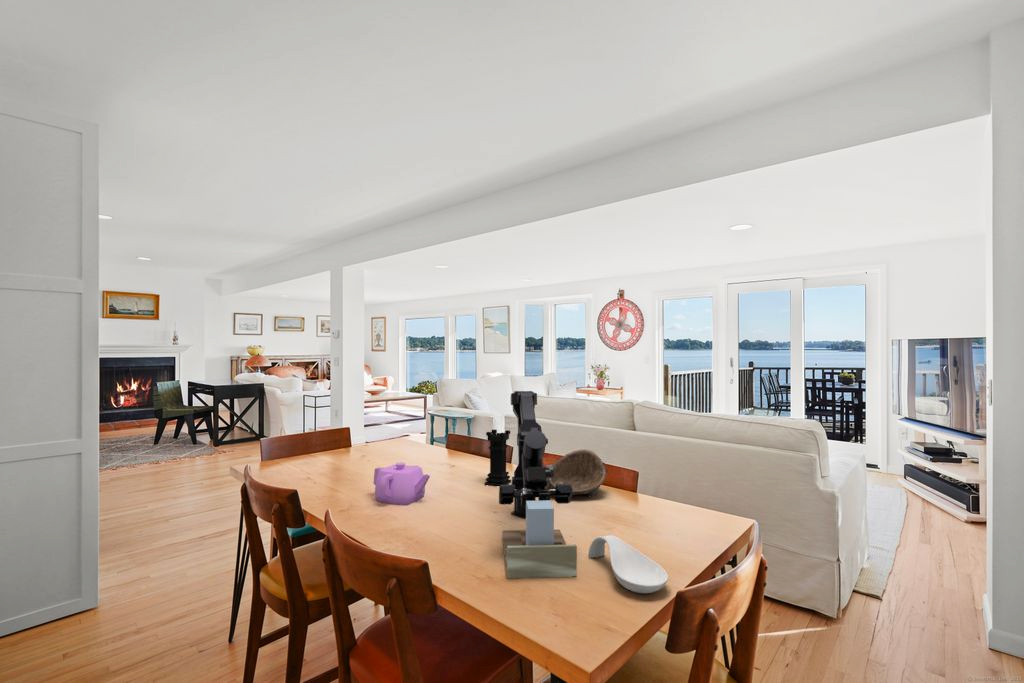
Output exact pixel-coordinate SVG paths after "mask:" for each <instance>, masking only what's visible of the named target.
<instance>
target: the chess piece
mask: <svg viewBox="0 0 1024 683" xmlns="http://www.w3.org/2000/svg"><path fill="white" fill-rule="evenodd" d="M510 434H511V430H508V429H507V430H505V431H504V432H498V430H497V429H491V431H486V433H485V436H487V441H488V442H489V444H490V445H489V446H488V449H489V463H490V464H489V473H488V474H487V476H486V478H485V482H484V486H487V485H488V487H489V486H490V487H497V486H499V487H500V486H501V485H510V483H512V479H510V478H511V475H509V474H510V473H509V471H507V448H508V445H507V441H508V440H510ZM499 487H498V488H499Z"/></svg>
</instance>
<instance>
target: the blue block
mask: <svg viewBox="0 0 1024 683" xmlns="http://www.w3.org/2000/svg"><path fill="white" fill-rule="evenodd" d="M554 519H555V509H554V506H553V504H552V501H551V499H550V500H545V501H538V500H536V501H526V518H525V530H526V546H528V545H554V530H555V529H554V527H555V520H554Z"/></svg>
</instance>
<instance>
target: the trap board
mask: <svg viewBox="0 0 1024 683" xmlns="http://www.w3.org/2000/svg"><path fill="white" fill-rule="evenodd" d="M501 532H502V535H501V536H502V538H501V539H502V546H503V553H504V554H503V555H504V562H505V568H506V569H505V570H506V578H507V579H534V578H537V579H538V578H541V579H542V578H573V577H572V576H578V575H577V574H578V573H577V572H578V570H577V569H578V568H577V565H578V563H577V556H578V553H577V552H578V548H577V546H578V545H577V544H576V543H575V544H567V543H566V541H565V538H564V536H563V533H562V531H561V529H554V545H528V546H526V529H524V530H523V529H522V530H521V529H520V530H519V529H517V530H512V529H511V530H509V529H508V530H502V531H501Z"/></svg>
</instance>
